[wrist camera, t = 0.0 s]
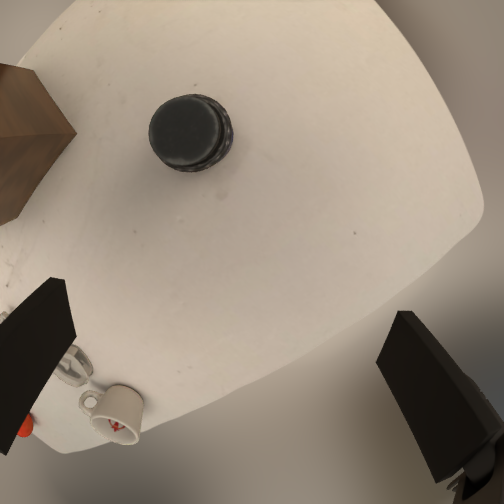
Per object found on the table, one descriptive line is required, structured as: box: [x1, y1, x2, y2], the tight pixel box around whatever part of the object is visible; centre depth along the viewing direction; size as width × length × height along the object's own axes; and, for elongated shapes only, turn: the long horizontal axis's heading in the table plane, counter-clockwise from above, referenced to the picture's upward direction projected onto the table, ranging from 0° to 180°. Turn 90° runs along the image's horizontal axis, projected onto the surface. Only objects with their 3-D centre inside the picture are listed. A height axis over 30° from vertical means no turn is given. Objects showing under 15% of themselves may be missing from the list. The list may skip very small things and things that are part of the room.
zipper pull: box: [0, 312, 93, 387], centre depth 34 cm, size 8×18×4 cm, turn 53°
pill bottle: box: [149, 94, 233, 172], centre depth 22 cm, size 6×6×11 cm
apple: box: [17, 413, 33, 437], centre depth 41 cm, size 8×8×8 cm
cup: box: [79, 385, 143, 445], centre depth 36 cm, size 11×8×8 cm
